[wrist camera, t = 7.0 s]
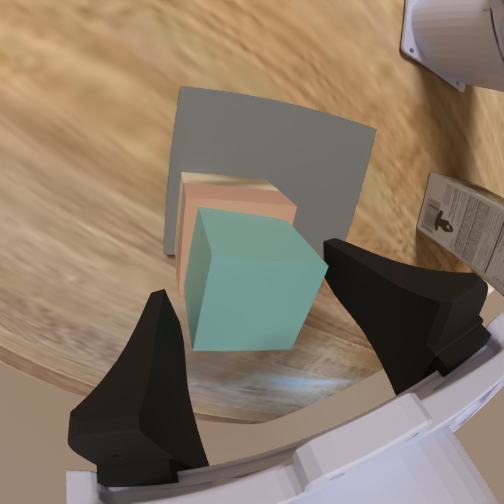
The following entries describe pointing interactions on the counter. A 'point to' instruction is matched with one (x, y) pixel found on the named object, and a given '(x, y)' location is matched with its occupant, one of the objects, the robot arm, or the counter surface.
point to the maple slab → (217, 180)
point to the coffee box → (466, 224)
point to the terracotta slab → (227, 200)
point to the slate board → (272, 156)
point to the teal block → (248, 282)
